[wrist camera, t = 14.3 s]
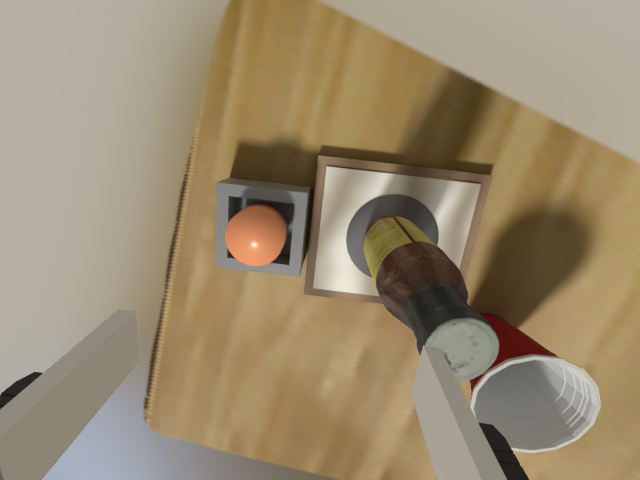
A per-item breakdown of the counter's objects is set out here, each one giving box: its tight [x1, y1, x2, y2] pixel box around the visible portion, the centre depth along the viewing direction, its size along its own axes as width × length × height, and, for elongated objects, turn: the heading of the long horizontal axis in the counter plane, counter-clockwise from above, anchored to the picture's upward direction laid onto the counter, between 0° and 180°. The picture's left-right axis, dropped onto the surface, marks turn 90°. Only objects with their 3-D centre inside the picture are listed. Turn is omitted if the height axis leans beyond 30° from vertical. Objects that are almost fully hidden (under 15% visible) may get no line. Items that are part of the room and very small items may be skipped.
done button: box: [225, 203, 288, 266], centre depth 33 cm, size 6×6×4 cm
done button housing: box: [216, 178, 311, 277], centre depth 36 cm, size 9×9×4 cm
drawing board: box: [304, 155, 492, 304], centre depth 37 cm, size 18×16×1 cm
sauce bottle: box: [363, 215, 499, 382], centre depth 27 cm, size 7×6×20 cm
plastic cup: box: [469, 313, 601, 453], centre depth 35 cm, size 11×11×12 cm
